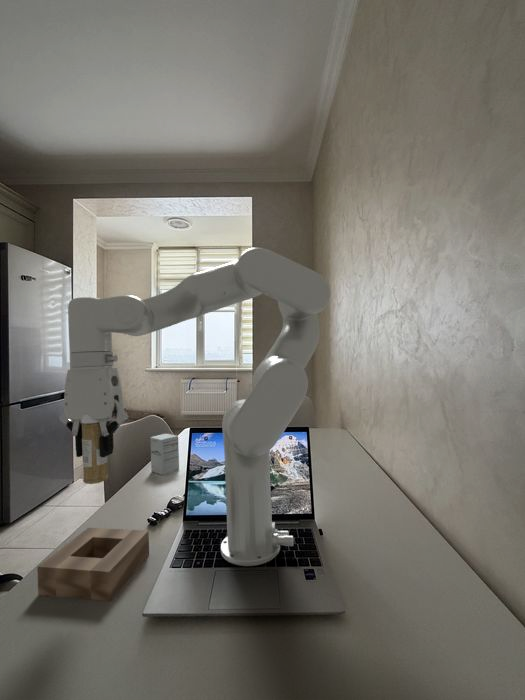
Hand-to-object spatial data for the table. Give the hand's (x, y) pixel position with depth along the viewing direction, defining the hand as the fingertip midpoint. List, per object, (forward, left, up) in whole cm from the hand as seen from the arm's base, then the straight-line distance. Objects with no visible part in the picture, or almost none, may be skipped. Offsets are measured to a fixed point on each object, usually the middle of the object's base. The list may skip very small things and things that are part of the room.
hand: (94, 454), depth 69 cm
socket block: (0, 0, -23) cm, 23 cm away
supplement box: (+13, -58, -23) cm, 64 cm away
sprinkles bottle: (0, 0, -5) cm, 5 cm away
